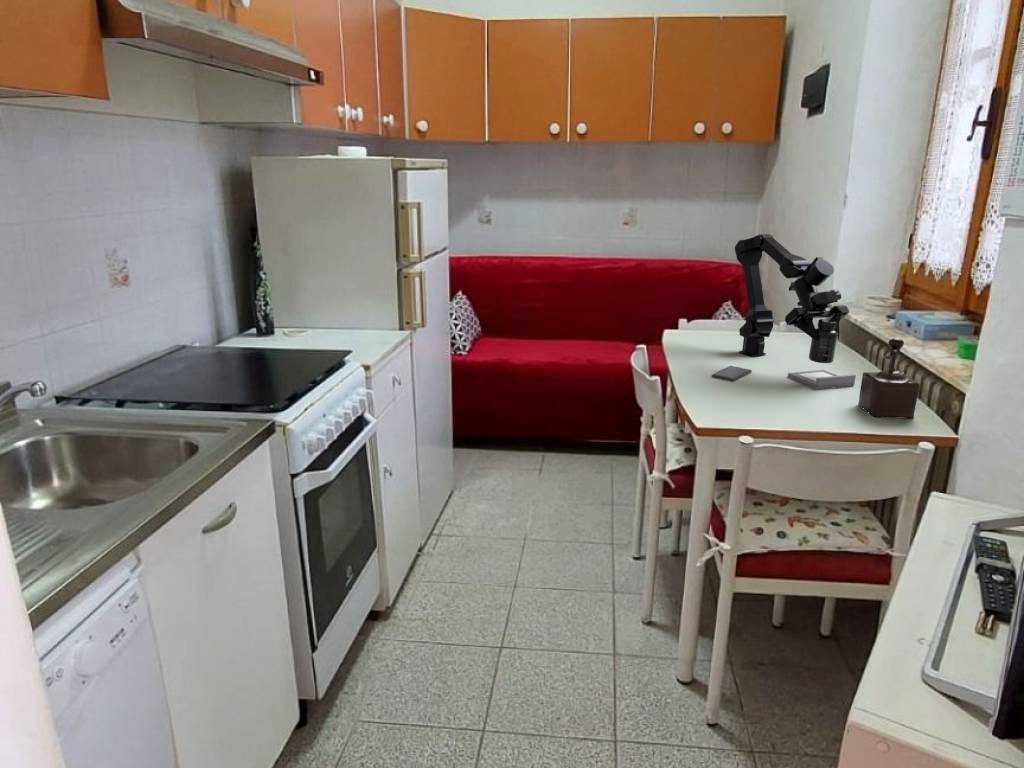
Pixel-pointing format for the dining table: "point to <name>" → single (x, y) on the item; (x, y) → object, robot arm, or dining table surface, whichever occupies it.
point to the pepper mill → (889, 389)
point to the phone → (732, 373)
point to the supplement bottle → (824, 342)
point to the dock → (822, 379)
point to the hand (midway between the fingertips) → (827, 339)
